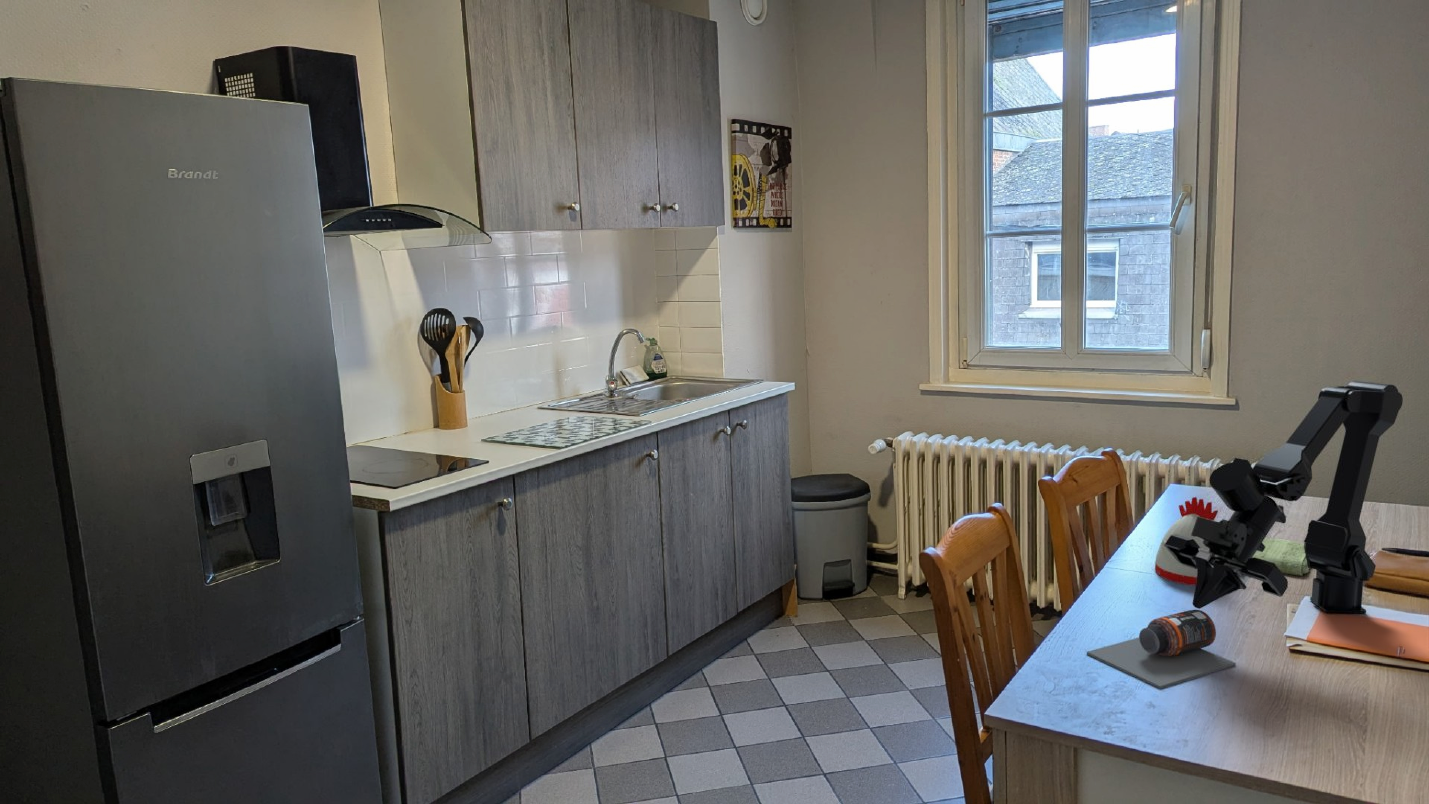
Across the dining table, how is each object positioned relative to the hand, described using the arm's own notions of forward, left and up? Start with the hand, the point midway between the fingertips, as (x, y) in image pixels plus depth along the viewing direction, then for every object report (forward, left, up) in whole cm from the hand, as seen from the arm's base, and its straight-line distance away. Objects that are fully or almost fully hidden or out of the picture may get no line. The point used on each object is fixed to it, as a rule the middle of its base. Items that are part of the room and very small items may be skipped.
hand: (1195, 606), depth 157 cm
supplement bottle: (-1, -1, -4) cm, 4 cm away
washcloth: (-29, -45, -8) cm, 54 cm away
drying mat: (+6, +4, -7) cm, 10 cm away
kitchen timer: (-12, -36, -7) cm, 39 cm away
